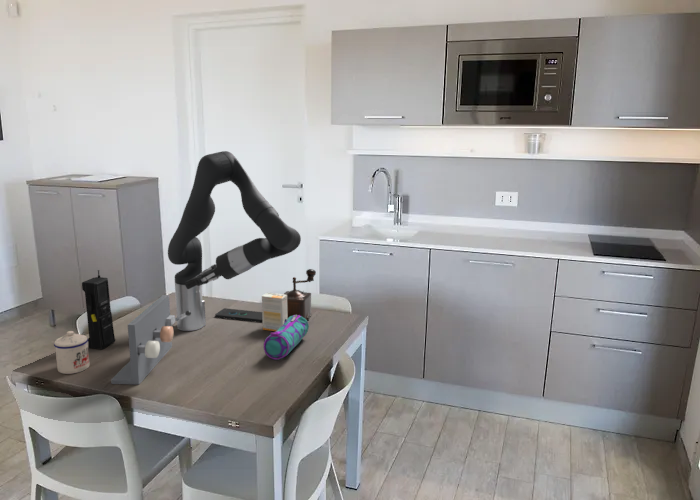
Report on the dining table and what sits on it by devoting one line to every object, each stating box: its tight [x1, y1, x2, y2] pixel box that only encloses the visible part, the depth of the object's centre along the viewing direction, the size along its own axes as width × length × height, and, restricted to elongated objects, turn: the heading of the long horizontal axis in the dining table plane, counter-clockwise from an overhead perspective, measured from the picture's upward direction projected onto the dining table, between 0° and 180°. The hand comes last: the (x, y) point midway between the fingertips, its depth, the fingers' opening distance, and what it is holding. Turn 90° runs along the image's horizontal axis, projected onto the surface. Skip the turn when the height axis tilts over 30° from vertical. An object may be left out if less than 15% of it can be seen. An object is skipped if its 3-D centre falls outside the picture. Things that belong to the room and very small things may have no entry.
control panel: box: [110, 294, 176, 385], centre depth 165 cm, size 10×27×18 cm, turn 178°
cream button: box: [137, 341, 160, 358], centre depth 154 cm, size 7×5×5 cm
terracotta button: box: [153, 325, 175, 342], centre depth 165 cm, size 7×5×5 cm
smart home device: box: [214, 308, 263, 323], centre depth 210 cm, size 8×2×20 cm
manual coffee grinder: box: [283, 268, 317, 321], centre depth 209 cm, size 16×11×18 cm
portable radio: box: [81, 270, 116, 350], centre depth 177 cm, size 8×6×25 cm
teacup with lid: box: [53, 330, 90, 375], centre depth 164 cm, size 12×9×12 cm
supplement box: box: [261, 292, 288, 332], centre depth 196 cm, size 8×5×13 cm, turn 71°
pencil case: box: [263, 315, 310, 361], centre depth 180 cm, size 21×9×10 cm, turn 166°
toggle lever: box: [175, 310, 191, 322], centre depth 176 cm, size 6×2×2 cm, turn 88°
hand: (186, 285), depth 161 cm, fingers closed
